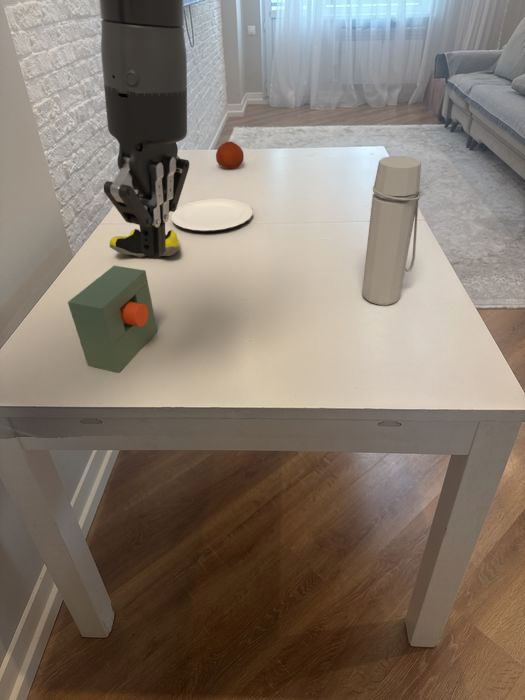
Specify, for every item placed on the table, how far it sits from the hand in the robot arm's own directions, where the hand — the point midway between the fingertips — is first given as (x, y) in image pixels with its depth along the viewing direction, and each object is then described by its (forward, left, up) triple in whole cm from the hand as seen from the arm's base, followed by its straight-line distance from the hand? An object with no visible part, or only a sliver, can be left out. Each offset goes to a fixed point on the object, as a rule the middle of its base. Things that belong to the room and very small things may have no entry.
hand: (153, 254), depth 55 cm
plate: (+44, +54, -25) cm, 74 cm away
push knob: (+3, +16, -19) cm, 25 cm away
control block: (+1, +19, -24) cm, 31 cm away
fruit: (+73, +85, -25) cm, 115 cm away
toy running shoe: (+22, +47, -25) cm, 58 cm away
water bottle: (+46, 0, -25) cm, 52 cm away
